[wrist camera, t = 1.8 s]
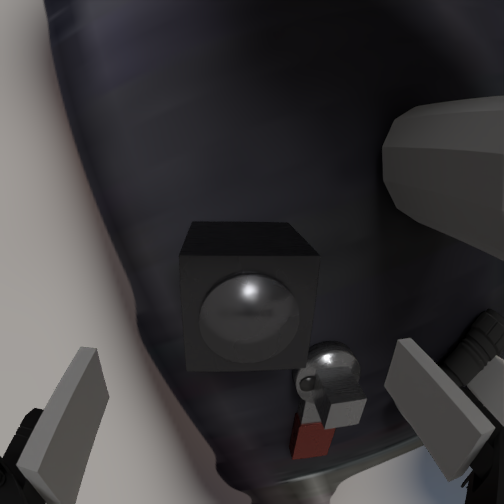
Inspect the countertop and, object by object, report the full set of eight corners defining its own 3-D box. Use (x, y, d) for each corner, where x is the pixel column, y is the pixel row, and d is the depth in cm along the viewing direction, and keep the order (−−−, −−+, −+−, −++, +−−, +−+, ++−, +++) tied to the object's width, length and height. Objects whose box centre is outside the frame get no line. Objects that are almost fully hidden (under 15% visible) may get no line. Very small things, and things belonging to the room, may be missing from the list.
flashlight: (482, 297, 28) (512, 318, 23) (493, 321, 30) (520, 342, 25) (388, 395, 31) (408, 426, 26) (407, 410, 32) (426, 438, 27)
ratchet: (295, 343, 27) (315, 391, 21) (358, 338, 27) (388, 381, 21) (280, 447, 31) (290, 492, 25) (330, 441, 32) (346, 482, 26)
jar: (359, 118, 22) (574, 97, 5) (448, 100, 22) (624, 94, 4) (388, 235, 25) (564, 347, 8) (469, 202, 25) (627, 263, 8)
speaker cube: (192, 221, 23) (178, 257, 15) (288, 222, 24) (322, 258, 16) (194, 308, 25) (186, 375, 17) (281, 308, 26) (307, 371, 18)
